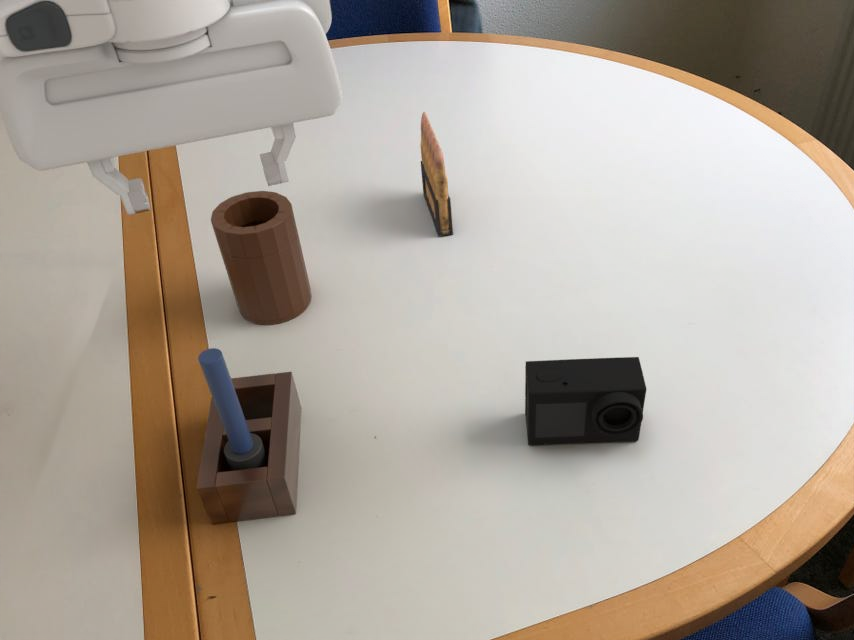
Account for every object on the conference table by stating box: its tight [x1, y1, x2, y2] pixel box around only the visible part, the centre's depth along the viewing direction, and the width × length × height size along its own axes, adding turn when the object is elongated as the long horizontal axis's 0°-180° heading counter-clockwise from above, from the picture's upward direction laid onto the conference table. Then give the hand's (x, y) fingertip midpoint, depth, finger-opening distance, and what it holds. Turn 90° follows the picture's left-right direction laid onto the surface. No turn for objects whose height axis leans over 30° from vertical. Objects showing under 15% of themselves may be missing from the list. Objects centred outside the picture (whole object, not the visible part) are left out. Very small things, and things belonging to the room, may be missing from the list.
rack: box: [195, 371, 302, 525], centre depth 72 cm, size 7×13×5 cm, turn 7°
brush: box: [197, 347, 268, 471], centre depth 66 cm, size 3×3×16 cm
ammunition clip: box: [420, 111, 454, 238], centre depth 99 cm, size 11×2×12 cm, turn 13°
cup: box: [210, 190, 312, 326], centre depth 87 cm, size 8×8×12 cm
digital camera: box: [524, 356, 647, 446], centre depth 72 cm, size 10×5×7 cm, turn 91°
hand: (209, 194), depth 55 cm, fingers open, 8 cm apart
